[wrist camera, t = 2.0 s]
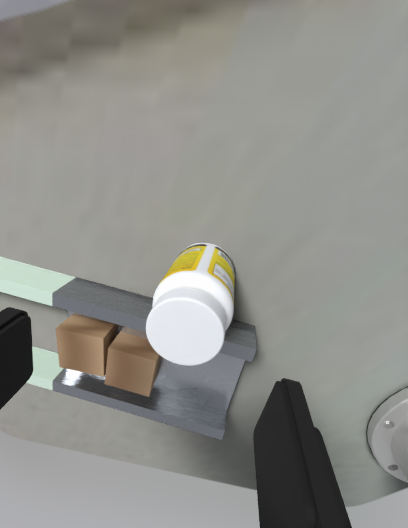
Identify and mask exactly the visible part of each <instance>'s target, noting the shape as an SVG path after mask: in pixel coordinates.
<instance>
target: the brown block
mask: <svg viewBox="0 0 408 528" xmlns="http://www.w3.org/2000/svg"><path fill="white" fill-rule="evenodd" d="M160 361H161V356H160V355H159V354H158V353H157V352H156V351H155V350H154V349H153V347H152V346H151V344H150V343H149V340H148V339H146V338H143V337H139V336H135V335H132V334H128V333H125V332H121V331H120V333H119V334H118V335H117V337H116V338H115V339H114V341H113V342H112V343H111V345H110V346H109V347H108V356H107V365H106V375H105V384H106V385H110V386H113V387H117V388H120V389H123V390H127V391H130V392H134V393H137V394H141V395H144V396H147V397H149V396H150V394H151V391H152V389H153V386H154V384H155V381H156V379H157V375H158V370H159V366H160Z"/></svg>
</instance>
